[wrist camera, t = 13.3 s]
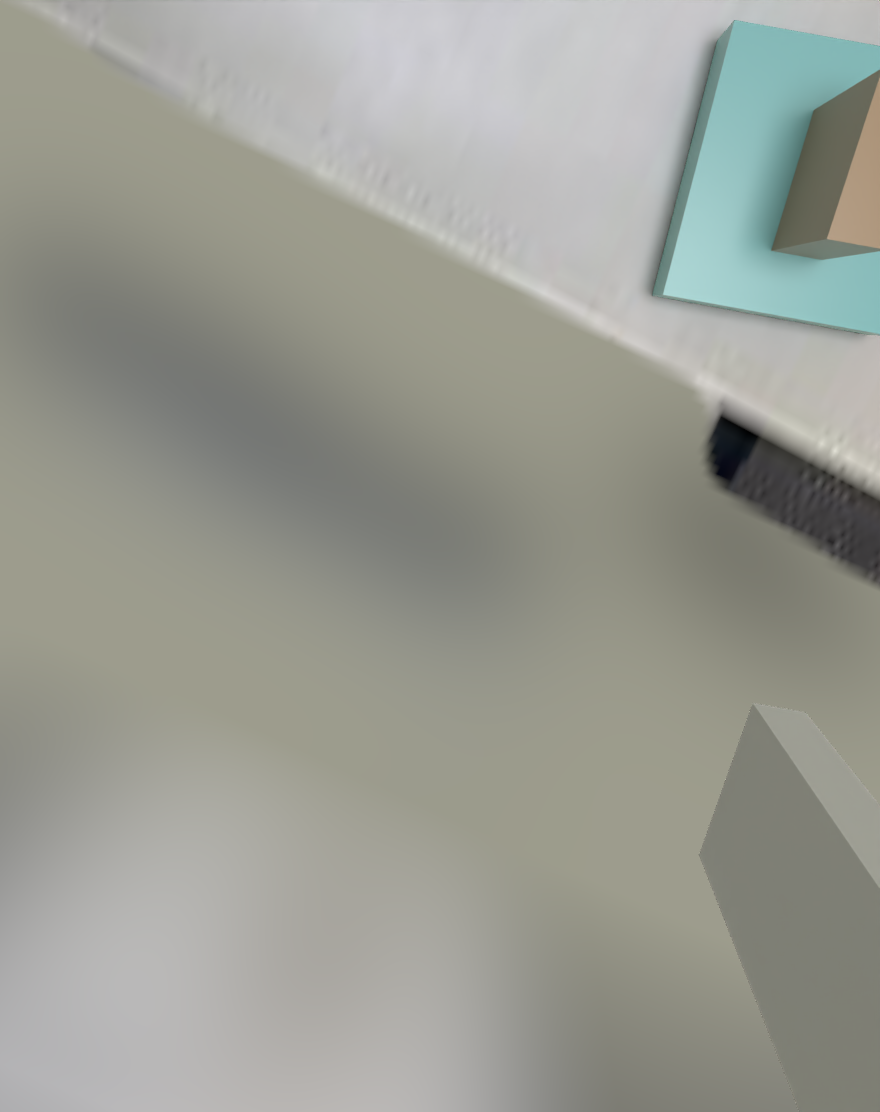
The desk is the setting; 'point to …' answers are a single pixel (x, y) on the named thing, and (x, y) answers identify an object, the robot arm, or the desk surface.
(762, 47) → the lid
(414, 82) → the desk surface
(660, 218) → the desk surface
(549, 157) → the desk surface
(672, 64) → the desk surface
